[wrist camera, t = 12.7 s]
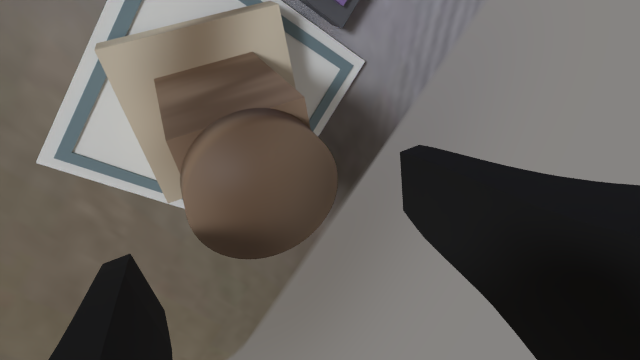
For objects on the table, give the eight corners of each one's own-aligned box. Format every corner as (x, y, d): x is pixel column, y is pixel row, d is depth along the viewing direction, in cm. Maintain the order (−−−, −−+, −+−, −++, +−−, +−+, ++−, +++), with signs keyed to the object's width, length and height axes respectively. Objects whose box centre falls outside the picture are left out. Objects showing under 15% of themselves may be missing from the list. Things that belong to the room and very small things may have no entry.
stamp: (268, -1, 17) (365, 39, 10) (298, 141, 21) (383, 240, 14) (96, 41, 15) (71, 124, 8) (165, 187, 19) (187, 325, 12)
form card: (362, 60, 20) (366, 61, 20) (257, 228, 23) (259, 232, 22) (148, -95, 14) (149, -96, 14) (37, 159, 17) (35, 163, 16)
